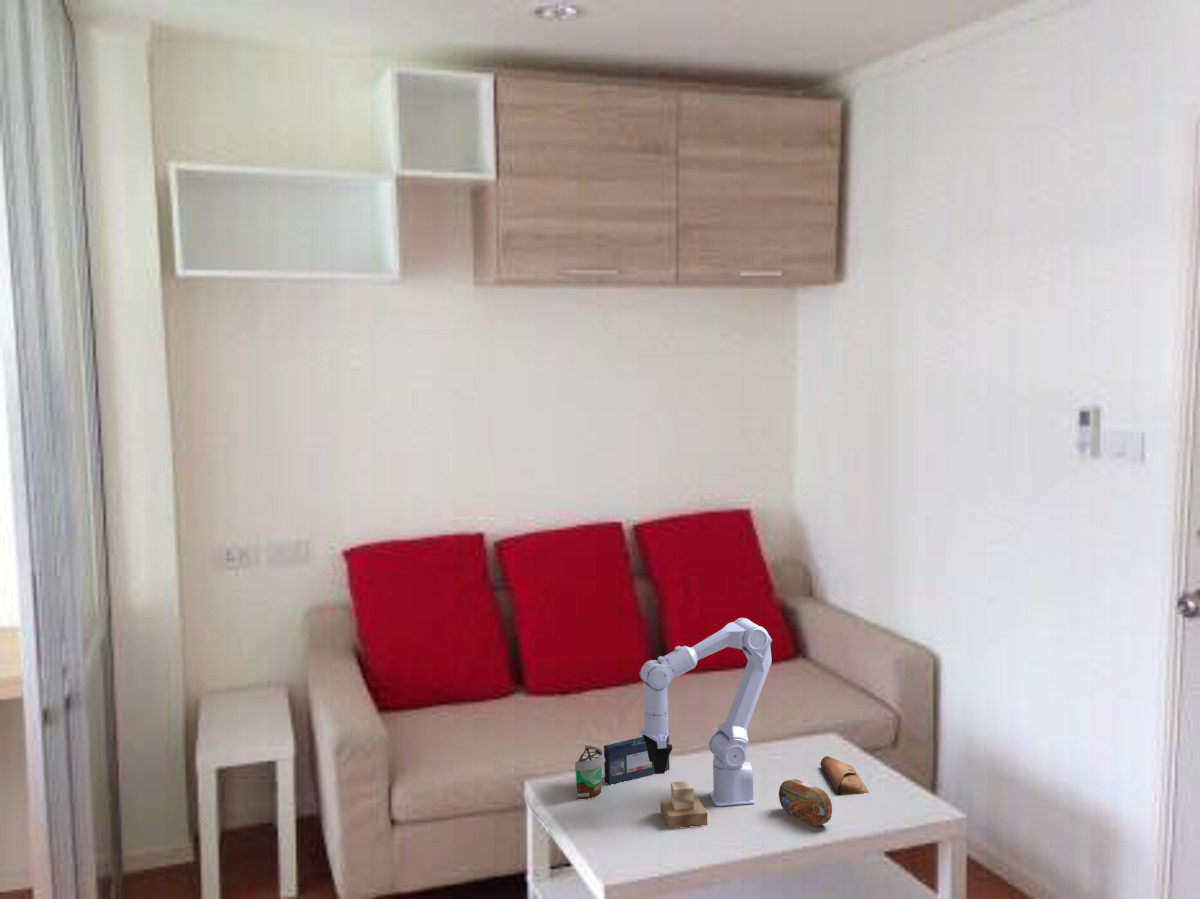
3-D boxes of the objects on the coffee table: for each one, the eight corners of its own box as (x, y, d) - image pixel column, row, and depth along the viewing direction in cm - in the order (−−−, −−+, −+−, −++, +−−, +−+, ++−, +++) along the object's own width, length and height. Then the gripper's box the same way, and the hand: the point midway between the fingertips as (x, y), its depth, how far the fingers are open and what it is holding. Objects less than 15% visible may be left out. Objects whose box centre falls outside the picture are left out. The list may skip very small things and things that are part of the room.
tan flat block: (697, 811, 265) (697, 797, 265) (707, 827, 256) (707, 812, 256) (660, 814, 263) (660, 800, 263) (669, 831, 255) (669, 816, 254)
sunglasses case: (872, 793, 271) (858, 771, 270) (847, 809, 271) (833, 787, 270) (852, 765, 289) (838, 745, 288) (829, 780, 289) (816, 759, 288)
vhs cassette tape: (608, 786, 280) (607, 748, 279) (603, 782, 283) (602, 744, 282) (670, 771, 289) (670, 734, 288) (665, 768, 291) (664, 731, 290)
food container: (600, 803, 270) (599, 763, 269) (575, 802, 271) (574, 762, 270) (610, 783, 282) (609, 745, 281) (586, 782, 283) (585, 744, 282)
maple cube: (690, 801, 262) (689, 780, 262) (693, 809, 258) (693, 788, 257) (671, 802, 262) (670, 782, 261) (674, 810, 257) (674, 789, 257)
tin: (777, 810, 263) (777, 775, 263) (787, 806, 265) (787, 772, 264) (824, 832, 251) (824, 796, 250) (834, 828, 253) (834, 792, 252)
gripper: (634, 703, 270) (635, 757, 271) (644, 723, 255) (645, 780, 257) (662, 701, 271) (663, 755, 272) (674, 721, 256) (675, 777, 258)
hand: (656, 767), depth 264 cm, fingers open, 7 cm apart
